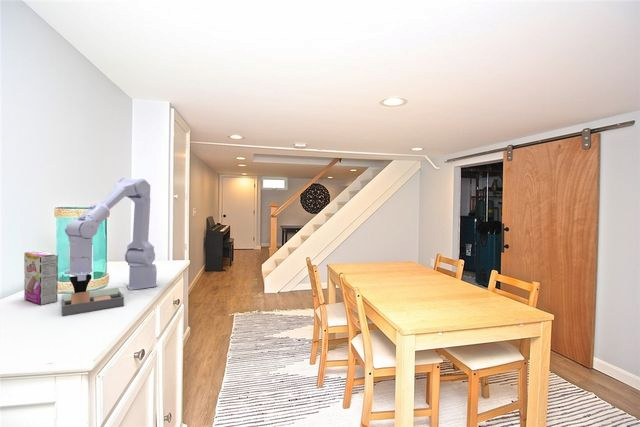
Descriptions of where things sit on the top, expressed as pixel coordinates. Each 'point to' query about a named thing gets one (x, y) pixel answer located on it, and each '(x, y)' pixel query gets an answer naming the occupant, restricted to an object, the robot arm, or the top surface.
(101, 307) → the tray
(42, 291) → the candy bar box
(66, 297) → the board
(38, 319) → the top surface
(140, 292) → the top surface
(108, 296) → the tile
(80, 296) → the tile
